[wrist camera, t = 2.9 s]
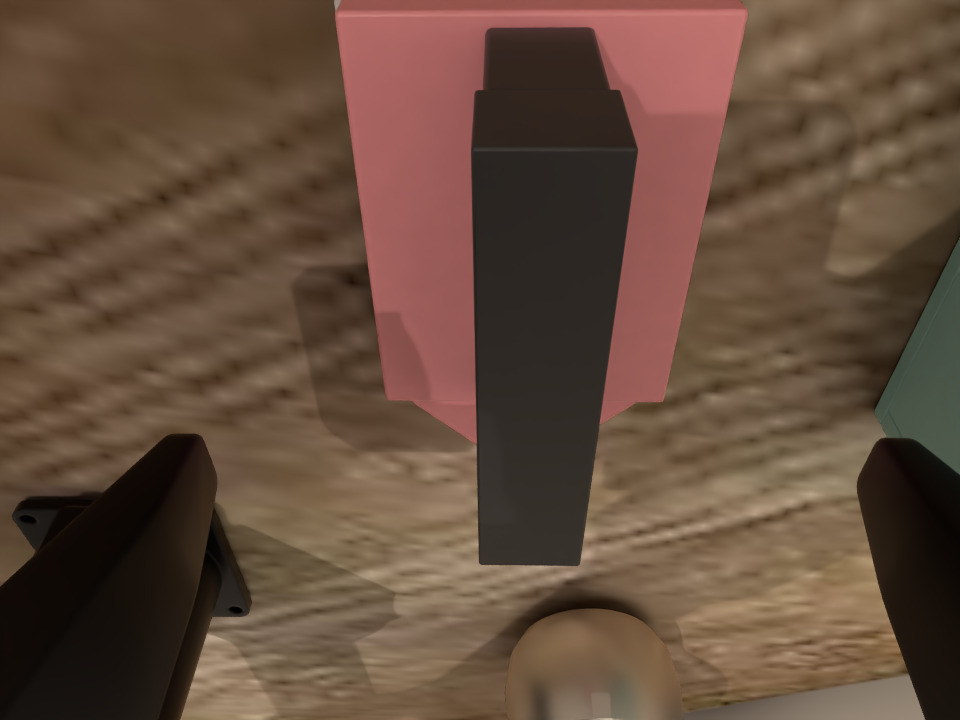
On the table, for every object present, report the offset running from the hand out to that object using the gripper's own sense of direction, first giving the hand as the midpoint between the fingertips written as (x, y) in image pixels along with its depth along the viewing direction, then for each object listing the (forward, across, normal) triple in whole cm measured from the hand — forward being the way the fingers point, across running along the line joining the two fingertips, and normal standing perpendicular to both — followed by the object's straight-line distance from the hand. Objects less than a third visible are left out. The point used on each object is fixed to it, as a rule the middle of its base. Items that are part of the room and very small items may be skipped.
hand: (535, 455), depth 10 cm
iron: (+8, 0, +2) cm, 8 cm away
